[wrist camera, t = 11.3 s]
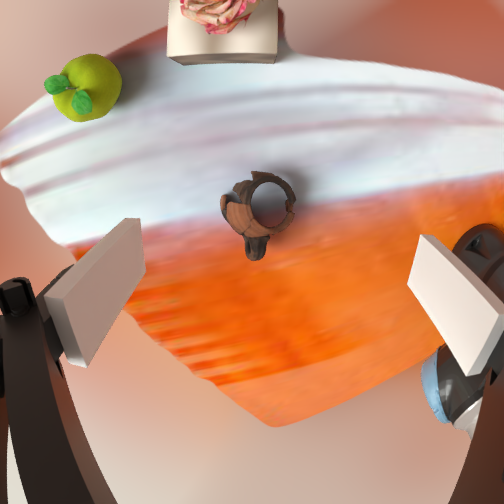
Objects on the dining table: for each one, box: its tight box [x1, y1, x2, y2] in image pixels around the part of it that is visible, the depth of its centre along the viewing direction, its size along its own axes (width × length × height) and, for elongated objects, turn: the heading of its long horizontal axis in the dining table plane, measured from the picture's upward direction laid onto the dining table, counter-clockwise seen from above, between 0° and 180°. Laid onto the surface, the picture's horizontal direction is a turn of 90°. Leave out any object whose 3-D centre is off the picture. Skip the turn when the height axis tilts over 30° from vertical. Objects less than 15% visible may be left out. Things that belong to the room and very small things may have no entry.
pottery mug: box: [220, 171, 296, 261], centre depth 42 cm, size 12×10×8 cm
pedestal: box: [167, 0, 278, 65], centre depth 29 cm, size 12×12×8 cm
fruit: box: [44, 54, 122, 122], centre depth 32 cm, size 9×9×10 cm
